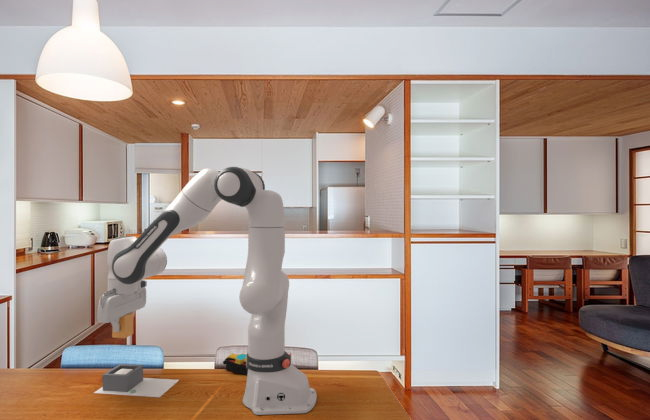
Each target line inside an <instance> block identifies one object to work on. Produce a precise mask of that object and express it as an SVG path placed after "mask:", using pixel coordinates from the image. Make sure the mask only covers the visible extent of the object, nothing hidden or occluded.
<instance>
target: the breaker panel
mask: <svg viewBox="0 0 650 420" xmlns="http://www.w3.org/2000/svg"><path fill="white" fill-rule="evenodd" d="M120 369H133V370H132V371H131V372H130V373H128V374H127V375H124V374H114V373H116V372H117V371H119V370H120ZM179 380H180V379H171V378H156V377H155V378H152V377H144V365H141V364H127V363H125V364H124V363H119V364H118V365H116V366H115V367H113V368H111V369H109V370H108V371H106V372H105V373H103V374H102V386H101V387H100V388H99V389H97V390H96V391H94V392H93V394H100V395H101V394H105V395H116V396H117V395H119V396H120V395H121V396H135V397H148V398H161V397H162V396H164V394H165V393H166V392H168V390H170V389H171V388H172V387H173V386H175V385H176V384H177V383H178V382H179Z"/></svg>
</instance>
